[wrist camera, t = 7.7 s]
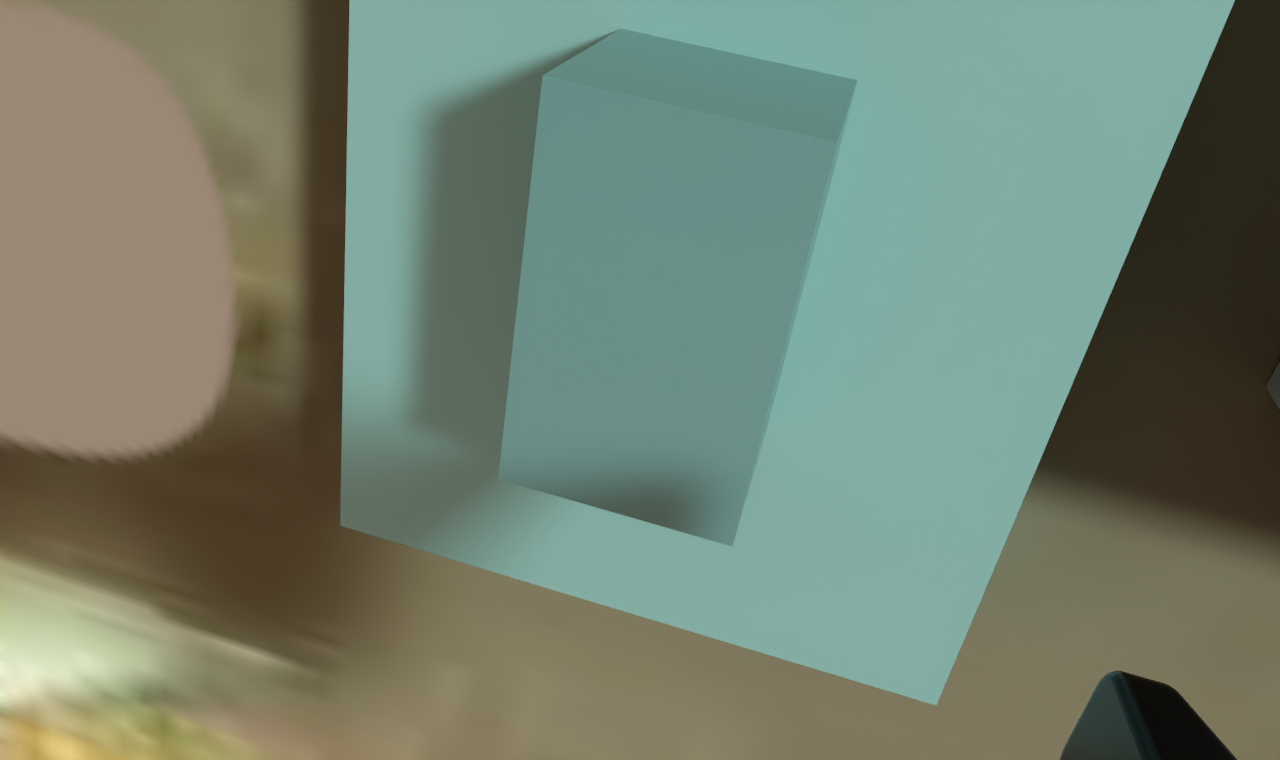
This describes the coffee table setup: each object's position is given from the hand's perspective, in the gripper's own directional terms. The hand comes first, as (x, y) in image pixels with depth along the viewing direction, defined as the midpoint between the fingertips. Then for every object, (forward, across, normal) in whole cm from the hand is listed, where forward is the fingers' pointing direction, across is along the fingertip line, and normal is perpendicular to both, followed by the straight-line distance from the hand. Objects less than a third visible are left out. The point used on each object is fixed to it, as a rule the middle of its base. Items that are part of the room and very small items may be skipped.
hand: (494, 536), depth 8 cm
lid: (+10, 0, 0) cm, 10 cm away
